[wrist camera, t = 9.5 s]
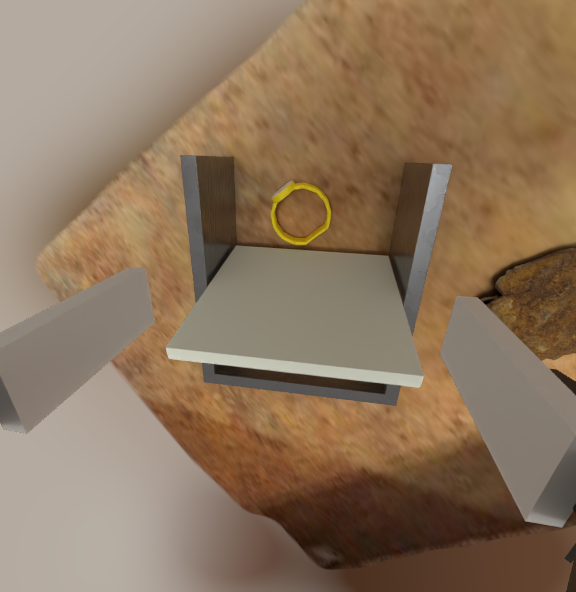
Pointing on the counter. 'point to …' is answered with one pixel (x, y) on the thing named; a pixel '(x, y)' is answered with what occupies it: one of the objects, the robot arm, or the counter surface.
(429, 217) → the stand
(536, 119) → the counter surface
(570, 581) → the robot arm
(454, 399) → the counter surface
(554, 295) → the decorative rock
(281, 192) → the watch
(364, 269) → the trapdoor
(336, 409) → the counter surface
